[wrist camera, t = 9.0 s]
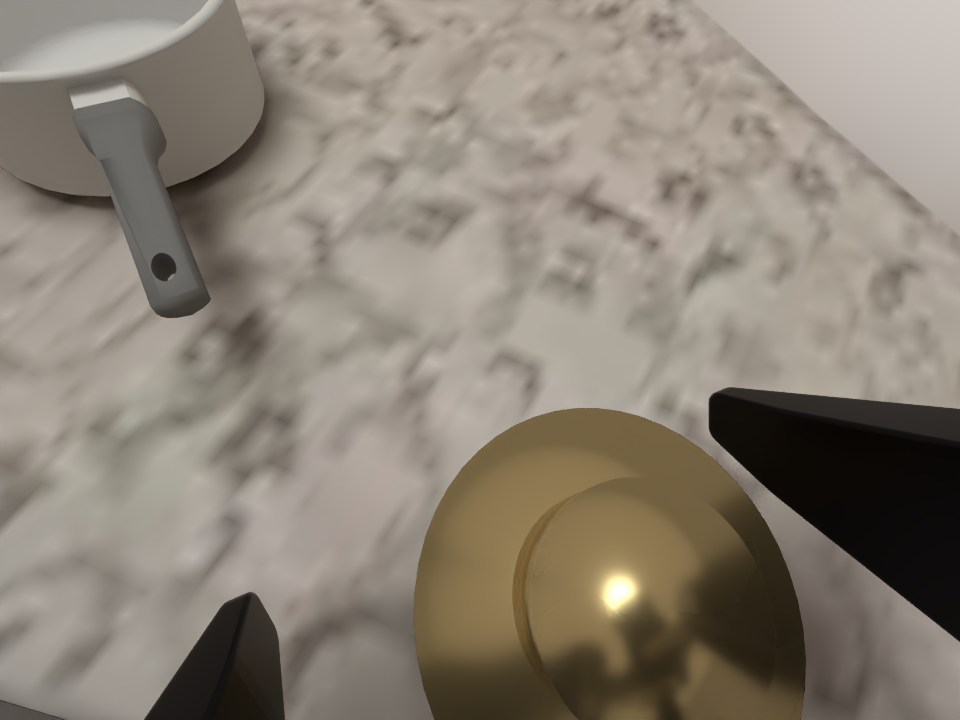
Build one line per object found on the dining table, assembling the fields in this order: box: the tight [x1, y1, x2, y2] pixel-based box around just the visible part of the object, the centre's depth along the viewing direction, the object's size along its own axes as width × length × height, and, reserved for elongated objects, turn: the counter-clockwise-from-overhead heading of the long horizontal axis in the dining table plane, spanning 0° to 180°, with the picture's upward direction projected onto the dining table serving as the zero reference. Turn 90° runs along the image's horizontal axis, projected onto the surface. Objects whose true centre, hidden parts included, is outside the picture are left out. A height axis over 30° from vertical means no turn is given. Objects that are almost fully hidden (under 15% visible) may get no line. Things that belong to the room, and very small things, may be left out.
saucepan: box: [0, 0, 265, 318], centre depth 16 cm, size 12×20×6 cm, turn 31°
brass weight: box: [414, 408, 806, 720], centre depth 9 cm, size 5×5×10 cm
